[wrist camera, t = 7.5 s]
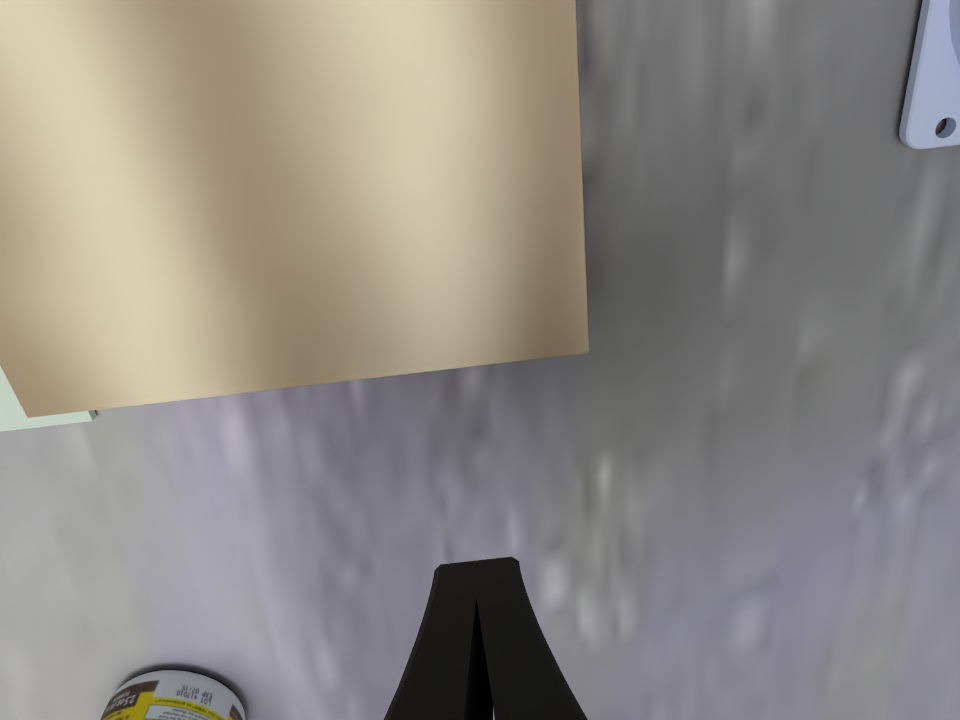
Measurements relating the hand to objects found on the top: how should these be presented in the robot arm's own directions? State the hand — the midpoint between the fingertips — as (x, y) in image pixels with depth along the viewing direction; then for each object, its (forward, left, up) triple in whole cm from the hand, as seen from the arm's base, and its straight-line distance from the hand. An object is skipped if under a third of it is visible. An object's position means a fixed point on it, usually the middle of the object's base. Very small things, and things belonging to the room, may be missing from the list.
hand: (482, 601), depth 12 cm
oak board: (+4, -8, -10) cm, 14 cm away
